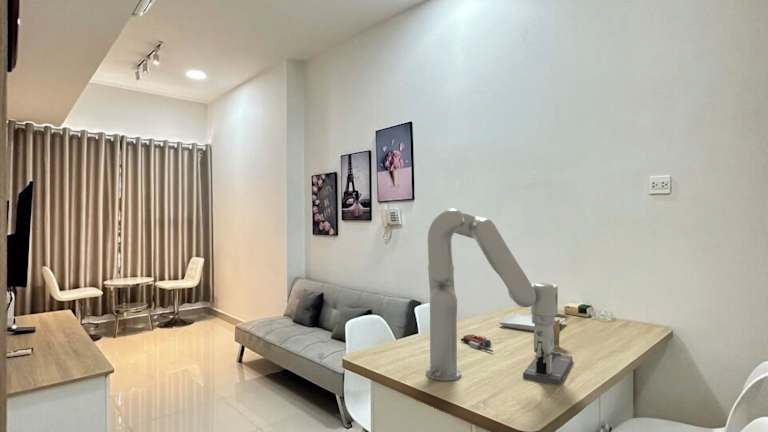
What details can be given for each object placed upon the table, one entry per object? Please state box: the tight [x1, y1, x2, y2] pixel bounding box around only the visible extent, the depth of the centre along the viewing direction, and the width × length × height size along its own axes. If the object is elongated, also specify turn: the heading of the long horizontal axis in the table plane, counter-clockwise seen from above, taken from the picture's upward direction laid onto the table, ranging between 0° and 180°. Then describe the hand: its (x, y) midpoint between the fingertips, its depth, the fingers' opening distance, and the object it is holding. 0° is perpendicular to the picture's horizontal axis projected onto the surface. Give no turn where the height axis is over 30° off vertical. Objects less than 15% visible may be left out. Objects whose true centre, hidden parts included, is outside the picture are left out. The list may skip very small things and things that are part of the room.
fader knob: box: [534, 353, 552, 374], centre depth 143 cm, size 3×5×6 cm, turn 57°
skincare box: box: [553, 319, 561, 350], centre depth 180 cm, size 6×4×12 cm
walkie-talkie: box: [460, 333, 494, 353], centre depth 180 cm, size 9×4×20 cm
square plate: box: [498, 311, 566, 332], centre depth 215 cm, size 27×27×4 cm
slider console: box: [522, 351, 573, 387], centre depth 152 cm, size 28×12×3 cm, turn 147°
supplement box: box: [530, 282, 559, 317], centre depth 240 cm, size 13×13×18 cm
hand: (543, 370), depth 143 cm, fingers open, 4 cm apart
